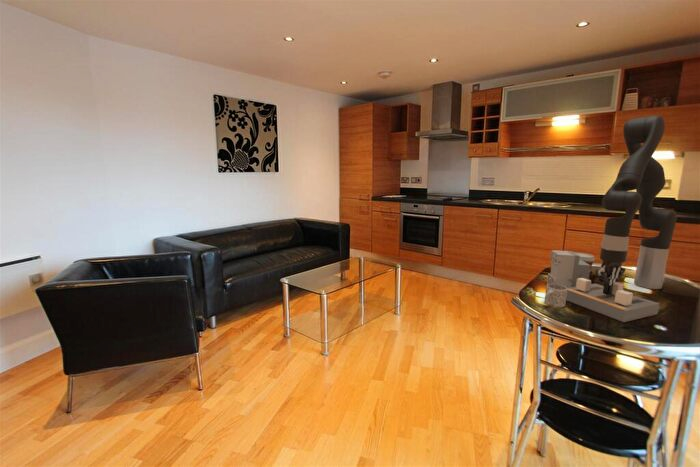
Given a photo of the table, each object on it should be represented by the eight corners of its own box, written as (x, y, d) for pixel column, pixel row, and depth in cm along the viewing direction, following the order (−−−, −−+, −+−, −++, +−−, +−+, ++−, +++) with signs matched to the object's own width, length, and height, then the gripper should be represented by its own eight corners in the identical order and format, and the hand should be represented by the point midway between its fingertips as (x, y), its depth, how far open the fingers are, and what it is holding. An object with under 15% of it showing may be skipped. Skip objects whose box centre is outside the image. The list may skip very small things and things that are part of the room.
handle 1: (581, 287, 133) (582, 277, 133) (590, 290, 130) (591, 280, 129) (575, 288, 132) (577, 278, 132) (584, 291, 129) (586, 281, 128)
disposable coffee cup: (594, 285, 150) (598, 258, 147) (569, 282, 153) (572, 256, 150) (587, 278, 159) (590, 253, 156) (563, 276, 161) (566, 251, 159)
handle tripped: (612, 291, 130) (613, 281, 129) (622, 294, 126) (624, 284, 126) (606, 292, 128) (608, 282, 128) (616, 295, 125) (618, 285, 124)
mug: (550, 299, 133) (552, 282, 132) (568, 305, 128) (571, 288, 127) (535, 304, 128) (537, 287, 127) (553, 310, 123) (556, 293, 122)
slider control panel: (593, 292, 140) (595, 283, 140) (657, 314, 120) (659, 303, 120) (562, 298, 134) (563, 288, 133) (623, 322, 114) (625, 310, 113)
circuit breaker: (591, 292, 141) (596, 256, 138) (553, 289, 144) (557, 254, 141) (583, 286, 149) (588, 252, 146) (546, 283, 151) (551, 250, 148)
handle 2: (620, 300, 121) (621, 289, 120) (631, 304, 117) (633, 293, 117) (614, 301, 120) (616, 290, 119) (625, 305, 116) (627, 294, 116)
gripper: (615, 244, 128) (608, 288, 132) (590, 246, 124) (584, 292, 127) (638, 248, 121) (630, 295, 125) (613, 251, 117) (605, 300, 120)
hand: (607, 293), depth 126 cm, fingers closed
